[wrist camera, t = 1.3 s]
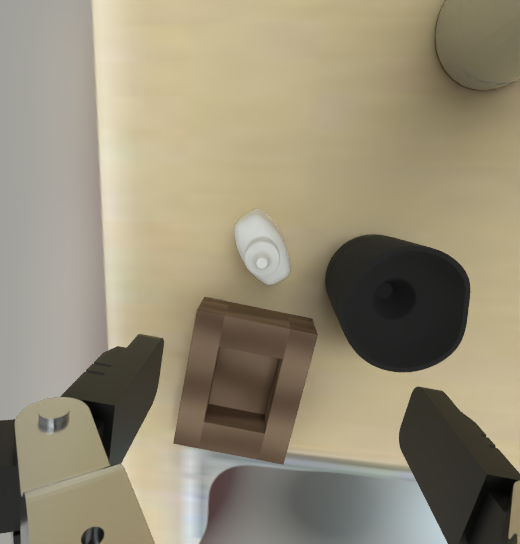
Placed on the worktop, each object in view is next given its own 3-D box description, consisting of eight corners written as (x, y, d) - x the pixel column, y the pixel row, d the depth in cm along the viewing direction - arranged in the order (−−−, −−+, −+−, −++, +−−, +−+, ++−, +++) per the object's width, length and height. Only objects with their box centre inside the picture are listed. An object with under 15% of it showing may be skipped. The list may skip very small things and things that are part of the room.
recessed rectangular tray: (204, 296, 36) (197, 310, 32) (312, 318, 36) (317, 334, 32) (182, 417, 39) (173, 443, 35) (281, 437, 39) (283, 464, 35)
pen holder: (437, 272, 35) (504, 304, 25) (370, 340, 37) (407, 395, 27) (367, 209, 34) (408, 217, 24) (301, 283, 35) (314, 319, 26)
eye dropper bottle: (241, 266, 35) (228, 305, 23) (239, 208, 34) (226, 218, 22) (285, 266, 35) (295, 305, 23) (286, 208, 34) (297, 218, 22)
